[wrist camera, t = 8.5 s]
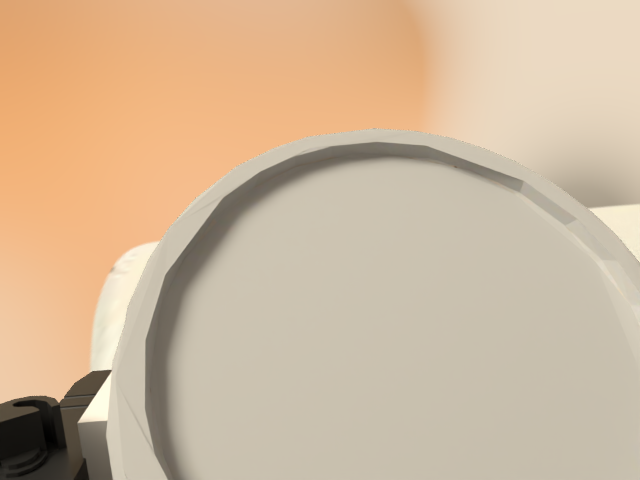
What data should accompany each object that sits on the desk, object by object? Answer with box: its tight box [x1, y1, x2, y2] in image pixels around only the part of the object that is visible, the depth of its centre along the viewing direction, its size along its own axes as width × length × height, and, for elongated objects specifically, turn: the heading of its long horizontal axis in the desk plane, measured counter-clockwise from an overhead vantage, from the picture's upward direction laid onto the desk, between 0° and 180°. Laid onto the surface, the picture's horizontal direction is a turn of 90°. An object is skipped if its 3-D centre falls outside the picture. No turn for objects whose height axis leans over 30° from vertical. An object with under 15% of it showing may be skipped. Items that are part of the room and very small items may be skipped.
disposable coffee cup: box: [106, 128, 640, 480], centre depth 12 cm, size 10×10×12 cm
